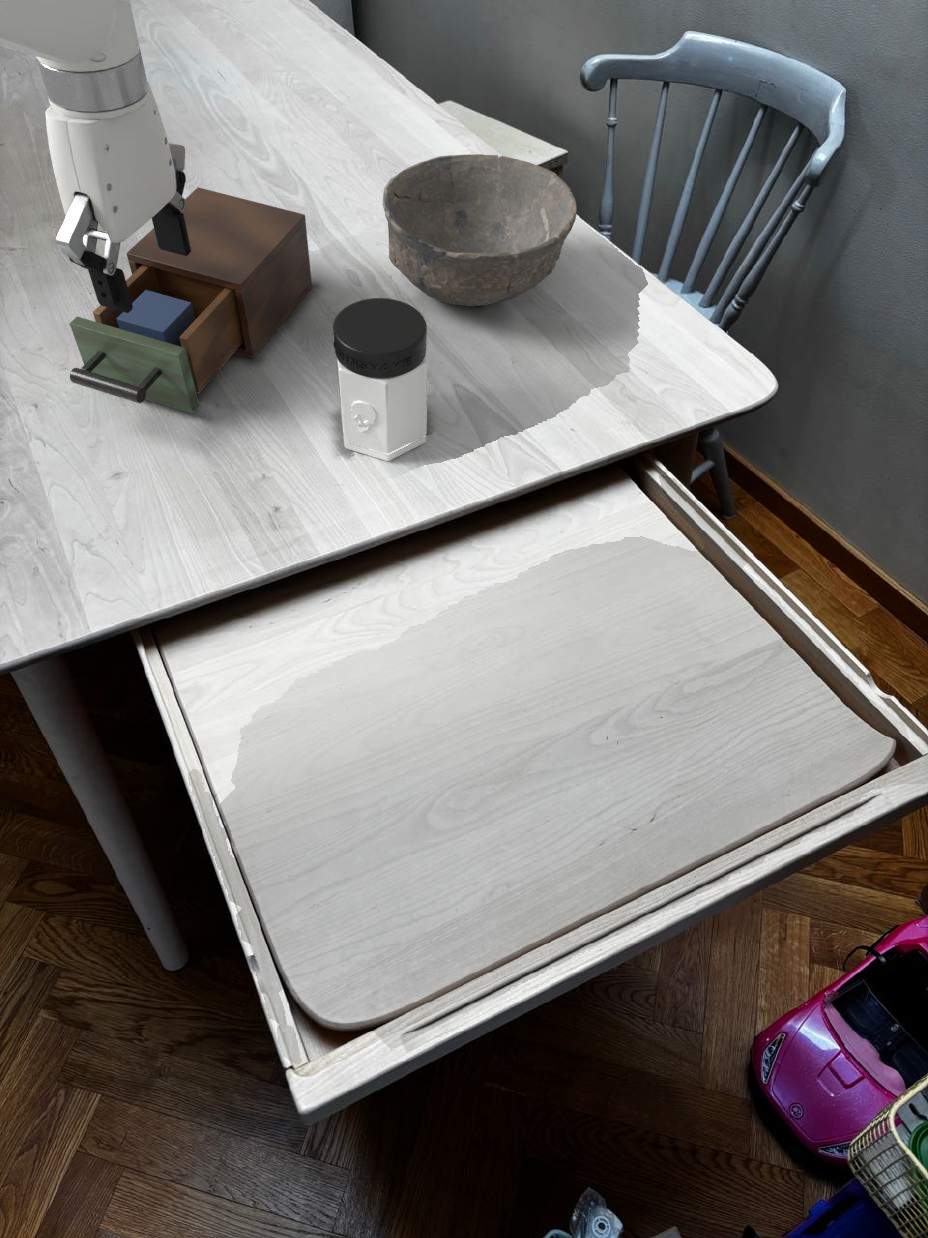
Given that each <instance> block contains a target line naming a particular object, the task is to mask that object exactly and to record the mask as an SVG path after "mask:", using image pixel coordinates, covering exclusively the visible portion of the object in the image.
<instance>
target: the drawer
mask: <svg viewBox="0 0 928 1238" xmlns="http://www.w3.org/2000/svg"><path fill="white" fill-rule="evenodd" d="M125 280H126V283H127V287H128V290H129V294H130V298H131V301H132V303H133V302H134V301H135V300H136V299H137V298H138V297H139V296H140V295H141V294H142V293H143V292H144V291H145V290H148V291H152V292H155V293H159V294H162V295H166V296H170V297H173V298H177V299H180V300H184V301H187V302H191V303H192V307H193V311H194V316H195V321H194V322H193V323H192V324H191V325H190V326H189V327H188V328H187V330H186V331H185V332H184V333H183V334H182V335H181V336H180V337H179V338H180V342H181V346H182V347H180V346H177V345H173V344H170V343H167V342H163V341H160V340H156V339H153V338H149V337H146V336H143V335H139V334H136V333H132V332H129V331H125V330H122V329H120V328H119V325H118V322H117V318H118V317H119V316H120V315H121V314H122V313H123V312H122V311H118V310H115V309H112V308H108V307H105V306H102V305H100V304H99V305H98V306H97V307H96V308H95V309H94V310H93V311H92V314H93V318H94V320H91V319H88V318H84V317H80V316H76V317H74V319H73V320H71V321H70V322H69V326H70V329H71V332H72V334H73V337H74V341H75V343H76V346H77V349H78V352H79V355H80V357H81V360H82V363H83V366H82V367H73V368H72V369H71V371H70V373H69V379H70V382H71V383H73V384H76V385H80V386H82V387H86V388H89V389H93V390H96V391H99V392H101V393H105V394H109V395H112V396H116V397H118V398H121V399H124V400H127V401H131V402H135V403H138V404H142V403H143V402H144V401H145V400H147V401H150V402H153V403H157V404H160V405H163V406H166V407H170V408H173V409H176V410H179V411H183V412H187V413H189V414H194V413H195V412H196V411H197V410H198V409H199V407H200V404H199V400H198V399H199V398H198V395H197V394H200V393H201V392H202V391H203V390H204V389H205V388H206V386H208V384H209V383H210V382H211V381H212V379H213V378H214V377H215V376H216V375H217V374H218V372H219V371H220V370H222V368H223V367H224V366H225V364H226V363H228V361H229V359H230V358H232V356H233V355H234V354H235V353H234V352H235V351H236V350H237V349H238V348H239V347H240V345H241V344H242V343H243V342H244V337H243V331H242V326H241V320H240V314H239V309H238V303H237V298H236V292H235V290H234V289H230V288H226V287H223V286H219V285H216V284H212V283H208V282H205V281H201V280H197V279H194V278H190V277H187V276H183V275H179V274H176V273H172V272H168V271H165V270H161V269H158V268H154V267H150V266H147V265H142V266H141V267H140V268H139V269H138V270H137V271H135V272H134V273H133V274H132V273H131V275H130V276H129V277H128V278H127V279H125Z"/></svg>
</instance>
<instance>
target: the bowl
mask: <svg viewBox="0 0 928 1238" xmlns="http://www.w3.org/2000/svg"><path fill="white" fill-rule="evenodd" d="M381 205H382V208H383V211H384V217H385V219H386V221H387V231H388V233H387V234H388V259H389V261H390V263H391V264H392V265H393V266H394V267H396V269H398V270H399V271H400V272H401V274H402V275H403V276H404V277H405V278H406V279H407V280H408V281H409V282H410V283H411V284H412V285H413V286H414V287H416V288H417V289H419V290H420V291H421V292H422V293H423V294H425V295H427V296H428V297H430V298H432V299H434V300H436V301H438V302H442V303H445V304H449V305H454V306H455V305H456V306H463V307H475V306H478V307H479V306H480V307H482V306H487V305H491V304H495V303H500V302H504V301H507V300H511V299H513V298H516V297H518V296H520V295H522V294H524V293H525V292H527V291H530V290H532V289H533V288H535V287H536V286H538V285H539V284H540V283H541V282H543V281H544V280H545V279H546V278H547V277H548V276H550V274H552V273H553V271H554V269H555V268H556V264H557V262H558V260H559V259H560V257H561V254H562V253H561V252H562V247H563V246H564V243H565V240H566V239H567V237H568V236H569V234H570V233H571V231H572V229H573V228H574V227H573V226H574V225H575V222H576V219H577V202H576V197H575V195H574V194H573V190H572V188H571V187H570V186H569V185H568V184H567V183H566V182H565V181H564V180H563V179H562V178H560V177H559V175H558V174H557V173H555V172H554V171H552V170H550V169H548V168H545V167H543V166H540V165H539V164H536V163H532V162H530V161H525V160H521V159H518V158H512V157H508V156H504V155H501V156H498V155H497V154H481V153H479V154H478V153H475V154H472V153H471V154H448V155H440V156H439V155H438V156H437V157H432V158H430V159H427V160H423V161H421V162H418V163H415V164H413V165H410V166H408V167H407V168H405V169H403V170H402V171H400V172H399V173H398V174H396V175H394V176H393V177H392V178H390V179H389V180H388V181H387V183H386V184H385V186H384V187H383V194H382V204H381Z"/></svg>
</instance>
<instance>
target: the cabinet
mask: <svg viewBox="0 0 928 1238" xmlns="http://www.w3.org/2000/svg"><path fill="white" fill-rule="evenodd" d="M184 199H185V202H186V206H185V209H184V211H182V212H181V213H183V214H184V219H185V224H186V228H187V233H188V238H189V243H190V248H191V253H190V254H189V255H188V256H183V255H180V254H176V253H172V252H169V251H165V250H161V249H160V248H159V247H158V243H157V239H156V235H155V230H154V227H153V228H152V229H151V230H150V231H149V232H148V233H146V234H145V236H143V237H142V238H141V239H140V240H139V241H138V242H137V243H135V244H134V245H133V246H132V248H130V249H129V250H128V251H127V252H126V258H127V260H128V265H129V268H130V273H131V275H132V274H133V273H134V272H135V271H137V270H138V269H139V268H140V267H141V266H142V265H147V266H150V267H154V268H158V269H161V270H165V271H168V272H172V273H176V274H179V275H183V276H187V277H190V278H194V279H197V280H201V281H205V282H208V283H212V284H216V285H219V286H223V287H226V288H230V289H234V290H235V292H236V298H237V303H238V309H239V314H240V320H241V326H242V331H243V337H244V342H243V343H242V344H241V345H240V347H239V348H238V349H237V350H236V351H235V352H234V354H237V355H240V356H243V357H247V358H250V359H255V357H256V356H257V355H258V354H259V353H260V352H261V350H262V349H263V348H264V346H265V345H266V344H267V343H268V342H269V340H270V339H271V338H272V337H273V336H274V334H275V333H276V332H277V331H278V330H279V329H280V327H281V326H282V325H283V323H284V322H285V321H286V320H287V319H288V317H290V315H291V314H292V313H293V312H294V310H295V309H296V308H297V307H298V305H299V304H300V303H301V302H302V301H303V299H305V297H306V296H307V295H308V293H309V292H310V291H311V290H312V289H313V282H312V271H311V270H312V269H311V261H310V251H309V241H308V231H307V222H306V221H307V220H306V214H305V213H300V212H297V211H292V210H289V209H285V208H280V207H277V206H272V205H269V204H266V203H265V204H264V203H262V202H258V201H253V200H250V199H245V198H242V197H238V196H234V195H230V194H227V193H222V192H218V191H214V190H211V189H207V188H202V187H196V188H195V189H194V190H193V191H192V192H191V193H190V194H189V195H187V197H185V198H184Z"/></svg>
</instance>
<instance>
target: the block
mask: <svg viewBox="0 0 928 1238" xmlns="http://www.w3.org/2000/svg"><path fill="white" fill-rule="evenodd" d="M132 305H133V309H132V310H131V311H130V312H129V313H125V312H123V313H122V314H121V315H120V316H119V317H118V318H117V322H118V325H119V328H120V329H122V330H125V331H129V332H132V333H136V334H139V335H143V336H146V337H149V338H153V339H156V340H160V341H163V342H167V343H170V344H173V345H177V346H180V347H182V346H181V342H180V338H179V337H180V336H181V335H182V334H183V333H184V332H185V331H186V330H187V328H188V327H189V326H190V325H191V324H192V323H193V322H194V321H195V316H194V311H193V307H192V303H191V302H187V301H184V300H180V299H177V298H173V297H170V296H166V295H162V294H159V293H155V292H152V291H148V290H145V291H144V292H143V293H142V294H141V295H140V296H139V297H138V298H137V299H136V300H135V301H134V302H133V303H132Z"/></svg>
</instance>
